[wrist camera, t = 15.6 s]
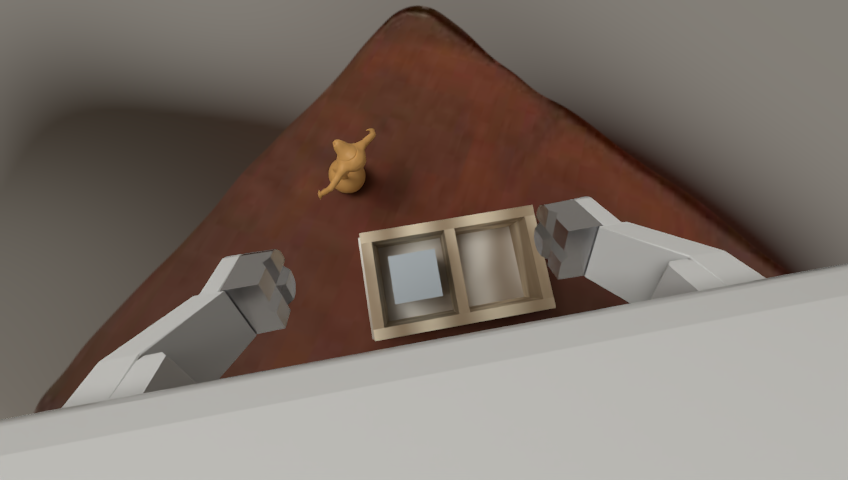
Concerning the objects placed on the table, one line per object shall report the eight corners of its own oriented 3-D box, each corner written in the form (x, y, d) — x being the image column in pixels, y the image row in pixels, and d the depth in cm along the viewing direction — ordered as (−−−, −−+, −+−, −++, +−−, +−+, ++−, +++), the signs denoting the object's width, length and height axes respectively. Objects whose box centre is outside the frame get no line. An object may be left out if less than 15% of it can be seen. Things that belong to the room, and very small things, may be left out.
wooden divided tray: (520, 212, 36) (540, 198, 30) (541, 306, 34) (567, 311, 28) (359, 239, 35) (348, 230, 29) (373, 337, 33) (364, 348, 27)
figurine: (358, 144, 36) (331, 77, 24) (399, 172, 36) (391, 117, 24) (315, 199, 35) (264, 156, 23) (357, 229, 35) (327, 200, 23)
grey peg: (430, 257, 33) (434, 248, 26) (436, 293, 33) (443, 295, 25) (394, 263, 33) (387, 256, 25) (400, 299, 33) (395, 304, 25)
